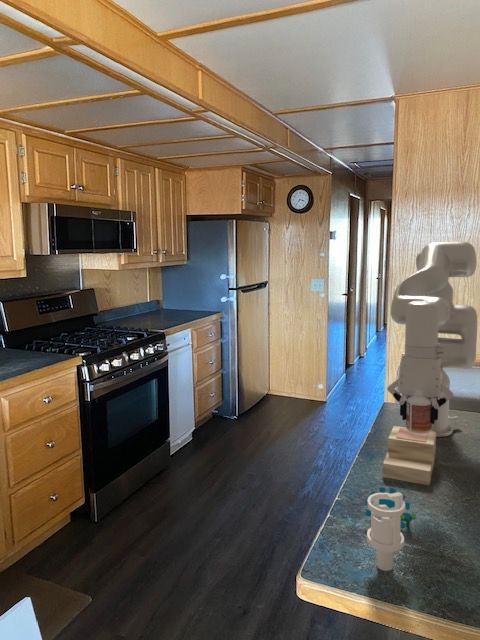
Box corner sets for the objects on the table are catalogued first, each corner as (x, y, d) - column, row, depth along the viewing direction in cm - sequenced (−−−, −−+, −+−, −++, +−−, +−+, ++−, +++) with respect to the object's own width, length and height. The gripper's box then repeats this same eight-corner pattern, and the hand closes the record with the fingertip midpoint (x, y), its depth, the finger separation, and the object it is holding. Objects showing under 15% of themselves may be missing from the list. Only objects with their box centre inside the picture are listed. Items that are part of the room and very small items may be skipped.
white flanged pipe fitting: (410, 572, 96) (413, 501, 93) (380, 581, 93) (382, 509, 91) (388, 551, 102) (389, 484, 100) (359, 559, 100) (360, 491, 97)
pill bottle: (436, 430, 123) (438, 388, 121) (421, 436, 120) (422, 393, 118) (415, 422, 128) (417, 382, 126) (400, 428, 125) (401, 387, 123)
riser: (393, 450, 149) (393, 425, 148) (435, 457, 144) (436, 431, 143) (382, 476, 133) (383, 448, 132) (429, 485, 128) (430, 456, 127)
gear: (359, 521, 110) (371, 479, 115) (361, 528, 115) (372, 487, 119) (410, 540, 105) (420, 496, 110) (409, 546, 110) (419, 503, 114)
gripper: (459, 350, 120) (456, 419, 123) (387, 345, 127) (385, 410, 131) (458, 357, 113) (455, 430, 116) (382, 352, 121) (380, 420, 124)
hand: (418, 419), depth 123 cm, fingers closed on pill bottle, 6 cm apart
